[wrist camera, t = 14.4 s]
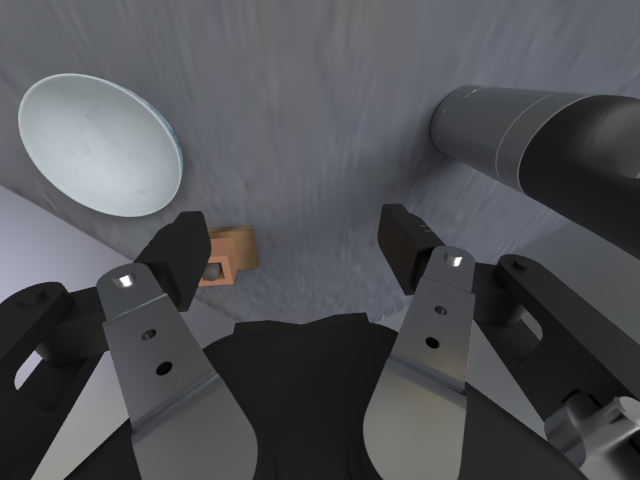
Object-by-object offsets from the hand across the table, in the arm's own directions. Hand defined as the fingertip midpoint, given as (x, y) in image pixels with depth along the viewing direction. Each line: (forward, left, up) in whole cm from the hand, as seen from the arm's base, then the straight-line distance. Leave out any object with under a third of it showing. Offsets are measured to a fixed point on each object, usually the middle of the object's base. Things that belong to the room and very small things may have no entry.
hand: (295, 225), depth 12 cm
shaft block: (+13, +20, -28) cm, 37 cm away
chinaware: (+20, +2, -28) cm, 35 cm away
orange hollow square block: (+13, +20, -27) cm, 36 cm away
